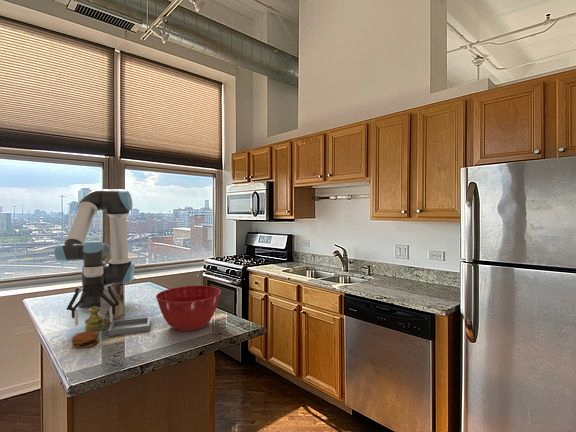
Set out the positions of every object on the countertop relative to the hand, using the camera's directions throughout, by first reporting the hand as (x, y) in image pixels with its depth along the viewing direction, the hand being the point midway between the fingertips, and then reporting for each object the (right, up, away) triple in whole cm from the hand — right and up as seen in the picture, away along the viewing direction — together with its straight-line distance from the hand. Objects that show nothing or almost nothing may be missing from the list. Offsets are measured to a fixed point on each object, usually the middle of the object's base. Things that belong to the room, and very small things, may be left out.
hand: (94, 323), depth 150 cm
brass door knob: (0, -3, 0) cm, 3 cm away
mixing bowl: (+41, -3, +4) cm, 42 cm away
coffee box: (-1, -3, +18) cm, 18 cm away
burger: (+6, -3, -16) cm, 18 cm away
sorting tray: (+16, -3, +1) cm, 16 cm away
